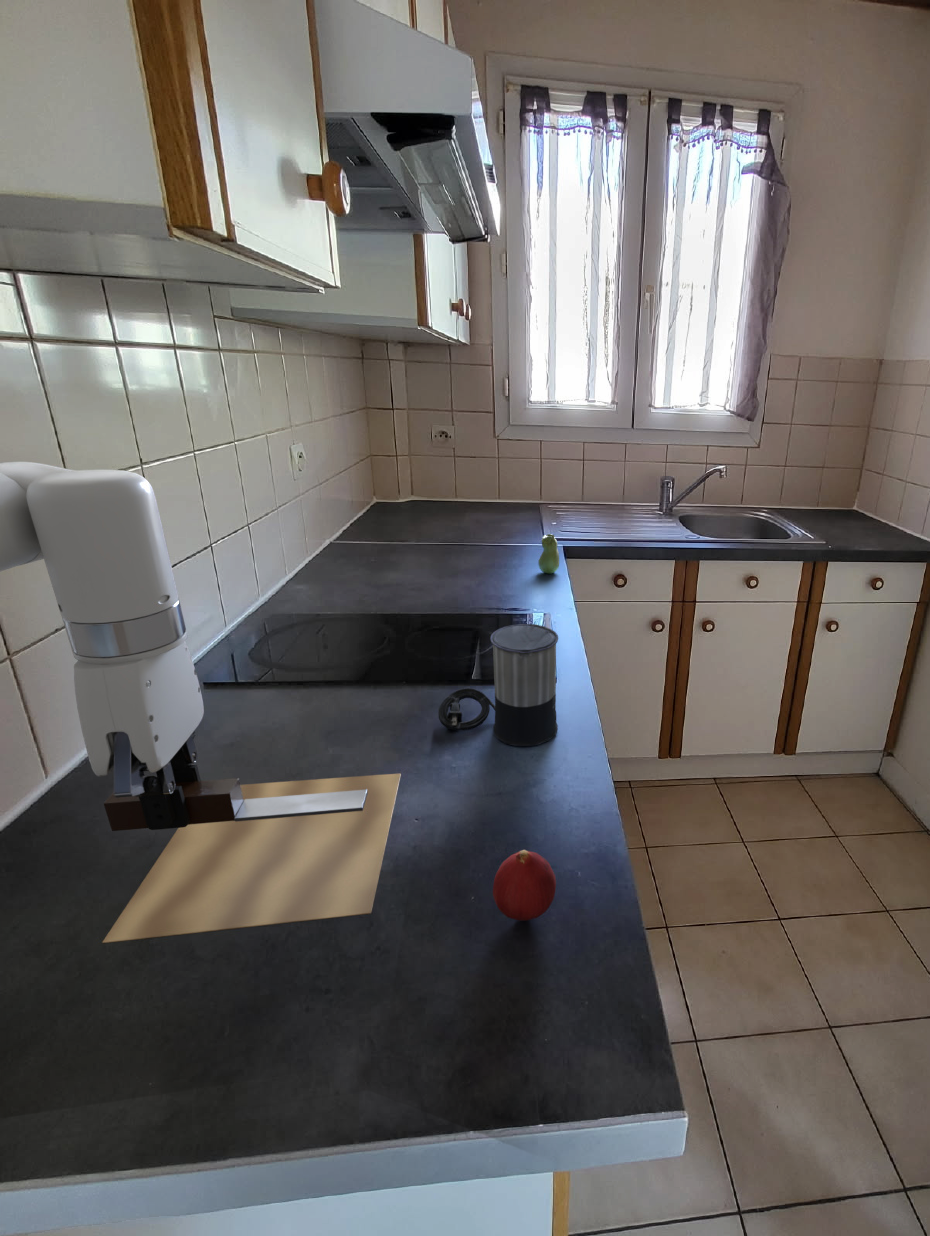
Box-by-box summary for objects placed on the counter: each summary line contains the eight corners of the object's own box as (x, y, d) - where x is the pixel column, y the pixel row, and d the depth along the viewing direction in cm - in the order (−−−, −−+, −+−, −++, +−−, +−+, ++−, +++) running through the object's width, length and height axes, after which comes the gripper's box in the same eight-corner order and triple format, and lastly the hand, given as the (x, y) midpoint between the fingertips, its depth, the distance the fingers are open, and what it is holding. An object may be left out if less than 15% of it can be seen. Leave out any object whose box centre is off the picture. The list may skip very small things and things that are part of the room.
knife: (110, 833, 56) (101, 805, 55) (127, 812, 59) (118, 785, 57) (362, 811, 60) (359, 784, 59) (367, 793, 62) (364, 767, 61)
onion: (511, 887, 64) (509, 822, 61) (564, 901, 63) (565, 836, 60) (483, 931, 59) (480, 863, 56) (541, 949, 58) (540, 879, 55)
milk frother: (567, 740, 90) (568, 644, 84) (454, 764, 83) (448, 662, 78) (535, 695, 102) (534, 608, 96) (434, 713, 95) (427, 621, 90)
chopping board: (105, 955, 55) (100, 943, 55) (207, 797, 75) (205, 787, 75) (372, 925, 59) (371, 913, 59) (402, 783, 79) (401, 772, 79)
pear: (558, 576, 159) (558, 537, 156) (537, 575, 159) (537, 536, 156) (559, 570, 165) (560, 532, 161) (539, 569, 164) (539, 531, 161)
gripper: (127, 596, 58) (172, 767, 65) (5, 675, 43) (79, 885, 50) (218, 593, 59) (252, 761, 66) (129, 669, 45) (185, 875, 51)
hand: (177, 813), depth 58 cm, fingers closed on knife, 2 cm apart
